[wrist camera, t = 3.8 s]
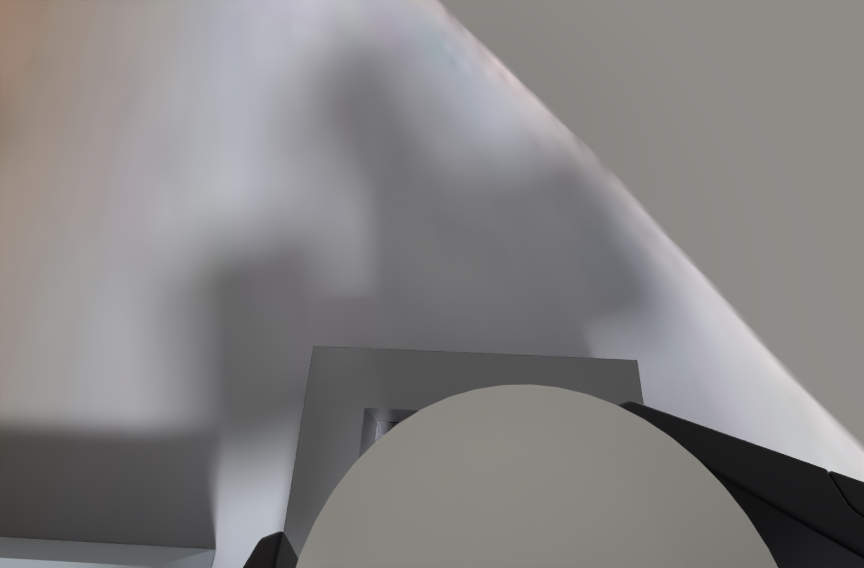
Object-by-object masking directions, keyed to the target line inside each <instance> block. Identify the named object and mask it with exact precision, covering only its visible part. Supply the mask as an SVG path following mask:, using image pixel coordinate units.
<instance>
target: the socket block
mask: <svg viewBox="0 0 864 568" xmlns="http://www.w3.org/2000/svg"><path fill="white" fill-rule="evenodd" d="M529 384H532V385H541V386H550V387H559V388H564V389H568V390H572V391H576V392H580V393H584V394H588V395H591V396H594V397H596V398H599V399H602V400H604V401H607V402H610V403H612V404H615V405H618V404H621V403H623V402H626V401H633V402H636V403H639V404H642V405H643V398H642V391H641V384H640V377H639V370H638V363H637V360H622V359H599V358H576V357H553V356H530V355H507V354H484V353H462V352H439V351H416V350H393V349H370V348H347V347H324V346H313V353H312V359H311V365H310V371H309V377H308V384H307V390H306V396H305V402H304V408H303V415H302V421H301V427H300V433H299V440H298V446H297V452H296V458H295V464H294V471H293V477H292V483H291V489H290V496H289V502H288V508H287V514H286V520H285V527H284V533H285V535H286V536H287V538H288V540H289V542H290V544H291V546H292V548H293V550H294V552H295V553H296V555H297V557H298V559H299V556H300V554H301V552H302V549H303V547H304V545H305V543H306V540H307V538H308V536H309V534H310V531H311V529H312V527H313V525H314V522H315V521H316V519H317V517H318V516H319V514H320V512H321V510H322V509H323V507H324V505H325V504H326V502H327V500H328V499H329V497H330V495H331V493H332V492H333V491H334V489H335V488H336V487H337V485H338V484H339V483H340V481H341V480H342V479H343V477H344V476H345V475H346V473H347V472H348V471H349V469H350V468H351V467H352V465H353V464H354V463H355V462H356V461H357V460H358V459H359V458H360V457H361V456H362V455H363V454H364V453H365V452H366V451H367V450H368V449H369V448H370V447H371V446H372V445H373V444H374V443H375V437H376V426H377V421H383V422H402V421H403V420H405V419H407V418H408V417H410V416H412V415H413V414H415V413H417V412H418V411H420V410H421V409H423V408H425V407H428V406H430V405H432V404H434V403H437V402H439V401H441V400H443V399H446V398H448V397H451V396H454V395H458V394H461V393H465V392H468V391H471V390H475V389H480V388H487V387H493V386H500V385H529Z"/></svg>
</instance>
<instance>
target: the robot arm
mask: <svg viewBox="0 0 864 568" xmlns="http://www.w3.org/2000/svg"><path fill="white" fill-rule="evenodd" d="M617 406H619V407H621V408H623V409H625V410H627V411H629V412H631V413H633V414H635V415H637V416H639V417H641V418H643V419H645V420H646V421H648V422H649V423H651V424H652V425H654V426H655V427H657V428H658V429H660V430H661V431H663V432H664V433H666V434H667V435H669V436H670V437H672V438H673V439H674V440H675V441H676V442H678V443H679V444H680V445H681V446H682V447H684V448H685V449H686V450H687V451H688V452H690V453H691V454H692V455H693V456H694V457H696V458H697V459H698V460H699V461H700V462H701V463H702V464H703V465H704V466H705V467H706V468H707V469H708V470H709V471H710V472H711V473H712V474H713V475H714V476H715V478H716V479H717V480H718V481H719V482H720V483H721V484H722V485H723V486H724V487H725V488H726V490H727V491H728V492H729V493H730V495H731V496H732V497H733V498H734V500H735V501H736V502H737V503H738V505H739V506H740V507H741V509H742V510H743V511H744V512H745V514H746V515H747V516H748V518H749V519H750V521H751V522H752V524H753V526H754V527H755V529H756V530H757V532H758V533H759V535H760V536H761V538H762V540H763V541H764V543H765V544H766V546H767V547H768V549H769V551H770V553H771V555H772V557H773V559H774V561H775V563H776V565H777V567H778V568H864V482H862V481H859V480H856V479H853V478H850V477H847V476H844V475H842V474H839V473H836V472H833V471H830V472H829V473H828V471H827V470H826V469H824V468H821V467H818V466H816V465H813V464H810V463H807V462H804V461H801V460H798V459H796V458H793V457H790V456H787V455H784V454H781V453H778V452H776V451H773V450H770V449H767V448H764V447H761V446H758V445H756V444H753V443H750V442H747V441H744V440H741V439H738V438H736V437H733V436H730V435H727V434H724V433H721V432H719V431H716V430H713V429H710V428H707V427H704V426H701V425H699V424H696V423H693V422H690V421H687V420H684V419H681V418H679V417H676V416H673V415H670V414H667V413H664V412H661V411H659V410H656V409H653V408H650V407H647V406H644V405H642V404H639V403H636V402H633V401H626V402H623V403H621V404H618V405H617ZM297 562H298V557H297V555H296V553H295V552H294V550H293V548H292V546H291V544H290V542H289V540H288V538H287V536H286V535H285V533H284V532H277V533H274V534H271V535H269V536H266V537H263V538H262V539H261V540H260V541H259V542H258V544H257V545H256V547H255V549H254V550H253V552H252V554H251V555H250V557H249V559H248V560H247V562H246V564H245V565H244V567H243V568H296V565H297Z"/></svg>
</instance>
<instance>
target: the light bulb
mask: <svg viewBox="0 0 864 568" xmlns="http://www.w3.org/2000/svg"><path fill="white" fill-rule="evenodd" d="M296 568H778V567H777V565H776V563H775V561H774V559H773V557H772V555H771V553H770V551H769V549H768V547H767V546H766V544H765V543H764V541H763V540H762V538H761V536H760V535H759V533H758V532H757V530H756V529H755V527H754V526H753V524H752V522H751V521H750V519H749V518H748V516H747V515H746V514H745V512H744V511H743V510H742V509H741V507H740V506H739V505H738V503H737V502H736V501H735V500H734V498H733V497H732V496H731V495H730V493H729V492H728V491H727V490H726V488H725V487H724V486H723V485H722V484H721V483H720V482H719V481H718V480H717V479H716V478H715V476H714V475H713V474H712V473H711V472H710V471H709V470H708V469H707V468H706V467H705V466H704V465H703V464H702V463H701V462H700V461H699V460H698V459H697V458H696V457H694V456H693V455H692V454H691V453H690V452H688V451H687V450H686V449H685V448H684V447H682V446H681V445H680V444H679V443H678V442H676V441H675V440H674V439H673V438H672V437H670V436H669V435H667V434H666V433H664V432H663V431H661V430H660V429H658V428H657V427H655V426H654V425H652V424H651V423H649V422H648V421H646V420H645V419H643V418H641V417H639V416H637V415H635V414H633V413H631V412H629V411H627V410H625V409H623V408H621V407H619V406H617V405H615V404H612V403H610V402H607V401H604V400H602V399H599V398H596V397H594V396H591V395H588V394H584V393H580V392H576V391H572V390H568V389H564V388H559V387H550V386H541V385H532V384H529V385H500V386H493V387H487V388H480V389H475V390H471V391H468V392H465V393H461V394H458V395H454V396H451V397H448V398H446V399H443V400H441V401H439V402H437V403H434V404H432V405H430V406H428V407H425V408H423V409H421V410H420V411H418V412H417V413H415V414H413V415H412V416H410V417H408V418H407V419H405V420H403V421H402V422H400V423H399V424H397V425H396V426H395V427H393V428H392V429H391V430H390V431H388V432H387V433H386V434H385V435H383V436H382V437H381V438H380V439H379V440H377V441H376V442H375V443H374V444H373V445H372V446H371V447H370V448H369V449H368V450H367V451H366V452H365V453H364V454H363V455H362V456H361V457H360V458H359V459H358V460H357V461H356V462H355V463H354V464H353V465H352V467H351V468H350V469H349V471H348V472H347V473H346V475H345V476H344V477H343V479H342V480H341V481H340V483H339V484H338V485H337V487H336V488H335V489H334V491H333V492H332V493H331V495H330V497H329V499H328V500H327V502H326V504H325V505H324V507H323V509H322V510H321V512H320V514H319V516H318V517H317V519H316V521H315V522H314V525H313V527H312V529H311V531H310V534H309V536H308V538H307V540H306V543H305V545H304V547H303V549H302V552H301V554H300V556H299V559H298V562H297V565H296Z"/></svg>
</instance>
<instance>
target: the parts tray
mask: <svg viewBox="0 0 864 568" xmlns="http://www.w3.org/2000/svg"><path fill="white" fill-rule="evenodd" d="M214 554H215V549H201V548H183V547H166V546H149V545H132V544H114V543H97V542H80V541H63V540H46V539H28V538H11V537H0V568H212V563H213V559H214Z"/></svg>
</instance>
